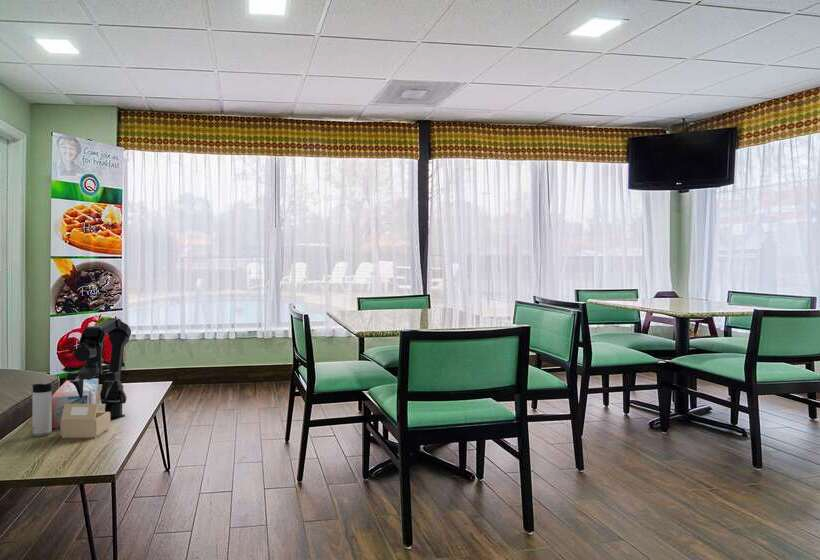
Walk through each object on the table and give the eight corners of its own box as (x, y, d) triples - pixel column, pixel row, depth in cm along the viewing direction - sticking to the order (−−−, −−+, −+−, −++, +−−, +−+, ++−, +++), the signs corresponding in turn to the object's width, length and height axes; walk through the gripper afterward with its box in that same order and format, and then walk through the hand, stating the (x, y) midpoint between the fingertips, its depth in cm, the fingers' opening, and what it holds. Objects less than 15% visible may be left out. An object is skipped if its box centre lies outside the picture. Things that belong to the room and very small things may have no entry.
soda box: (88, 426, 241) (88, 394, 241) (48, 429, 236) (48, 397, 236) (99, 404, 279) (99, 377, 279) (65, 406, 274) (65, 378, 274)
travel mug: (29, 437, 225) (29, 384, 224) (35, 432, 231) (35, 381, 230) (48, 436, 226) (48, 383, 226) (53, 431, 233) (53, 380, 232)
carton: (76, 429, 236) (76, 411, 236) (110, 429, 237) (110, 411, 237) (60, 438, 224) (60, 419, 224) (96, 438, 225) (96, 419, 224)
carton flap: (65, 404, 226) (64, 403, 225) (98, 403, 227) (97, 403, 226) (61, 419, 224) (61, 419, 223) (94, 419, 224) (94, 419, 224)
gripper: (58, 360, 227) (58, 402, 227) (109, 361, 228) (108, 401, 228) (73, 357, 238) (72, 396, 238) (121, 357, 239) (120, 396, 239)
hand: (93, 398), depth 235 cm, fingers open, 9 cm apart
